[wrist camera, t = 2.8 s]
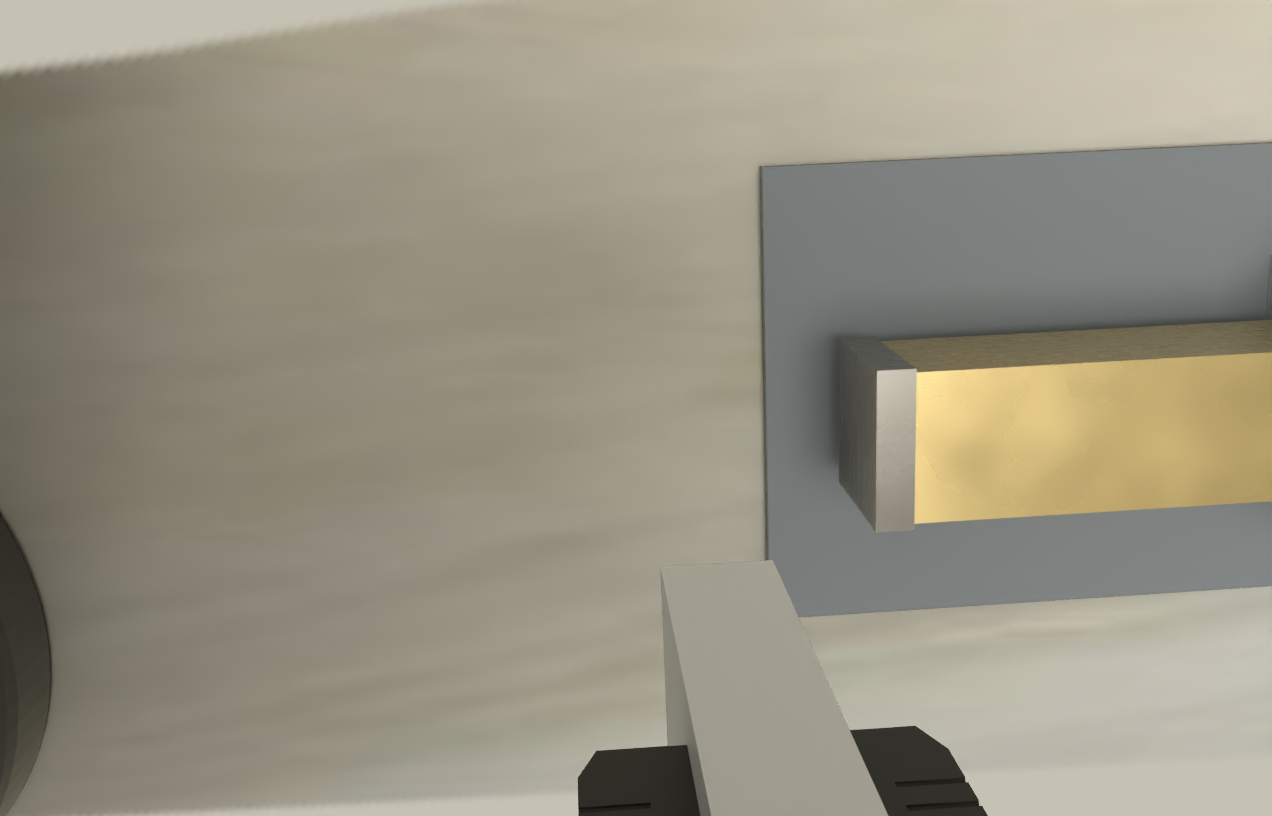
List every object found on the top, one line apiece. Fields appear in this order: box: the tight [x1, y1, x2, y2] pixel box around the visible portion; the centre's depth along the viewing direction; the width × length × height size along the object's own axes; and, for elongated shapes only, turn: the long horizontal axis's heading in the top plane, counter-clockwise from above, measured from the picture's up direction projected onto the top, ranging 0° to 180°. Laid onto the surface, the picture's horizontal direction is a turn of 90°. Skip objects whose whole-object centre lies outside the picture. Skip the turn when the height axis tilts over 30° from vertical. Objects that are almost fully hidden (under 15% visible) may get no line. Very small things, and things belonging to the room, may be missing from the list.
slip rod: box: [839, 320, 1272, 532], centre depth 27 cm, size 16×3×3 cm, turn 93°
